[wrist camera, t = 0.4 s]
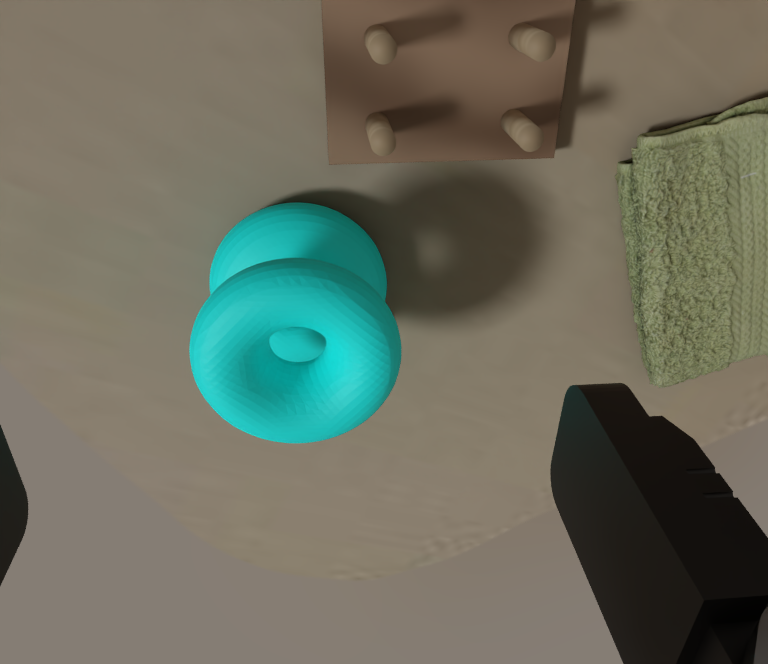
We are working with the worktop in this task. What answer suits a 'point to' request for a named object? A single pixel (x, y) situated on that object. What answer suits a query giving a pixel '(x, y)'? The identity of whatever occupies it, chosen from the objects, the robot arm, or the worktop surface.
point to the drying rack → (444, 79)
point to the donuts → (296, 326)
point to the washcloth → (698, 242)
